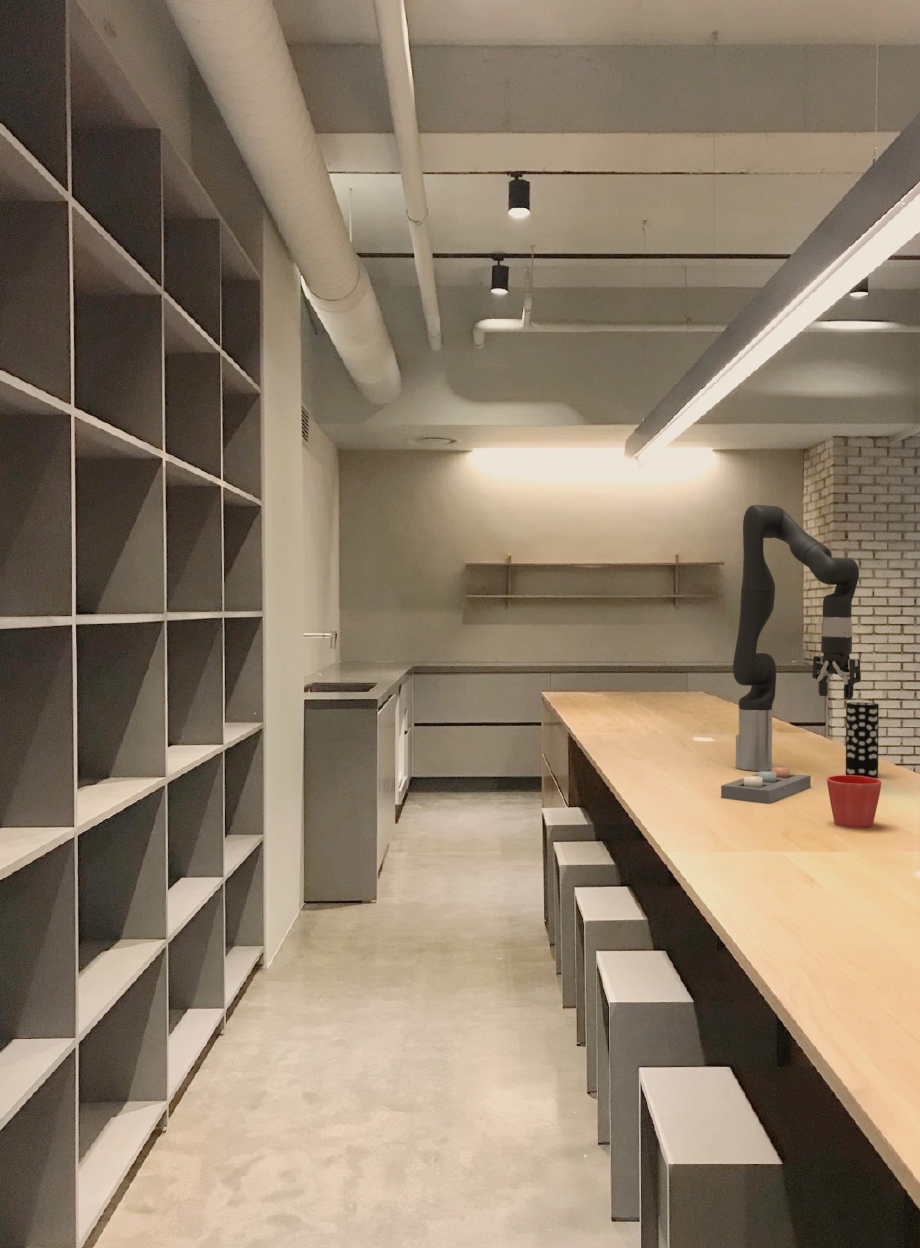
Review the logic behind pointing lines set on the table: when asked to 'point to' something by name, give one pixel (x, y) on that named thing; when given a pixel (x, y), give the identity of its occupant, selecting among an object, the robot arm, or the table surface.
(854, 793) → the flower pot
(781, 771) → the terracotta button
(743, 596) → the robot arm
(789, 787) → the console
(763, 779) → the slate button
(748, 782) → the offwhite button
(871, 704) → the white-spotted black cylinder
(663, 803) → the table surface
